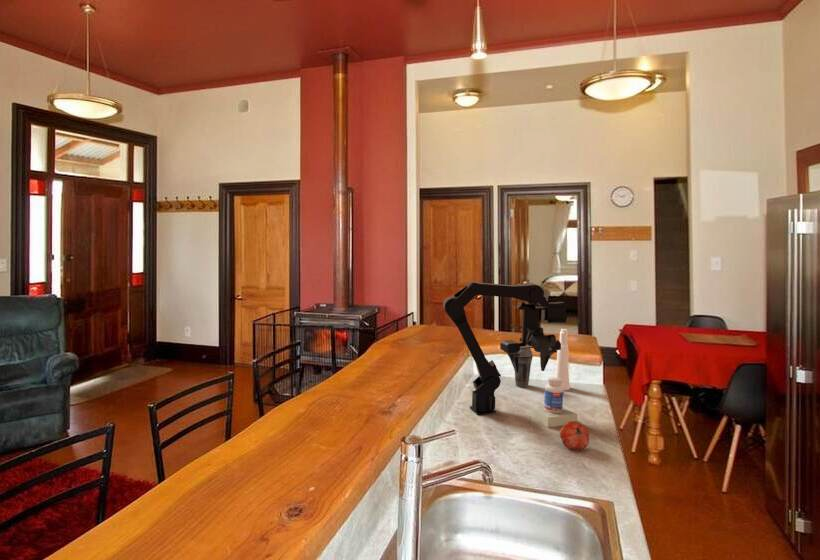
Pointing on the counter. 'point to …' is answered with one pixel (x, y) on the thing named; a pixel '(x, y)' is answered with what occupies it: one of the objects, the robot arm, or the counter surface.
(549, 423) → the plinth
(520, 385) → the beverage cup
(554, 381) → the pill bottle
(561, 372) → the cosmetic bottle
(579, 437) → the pomegranate
